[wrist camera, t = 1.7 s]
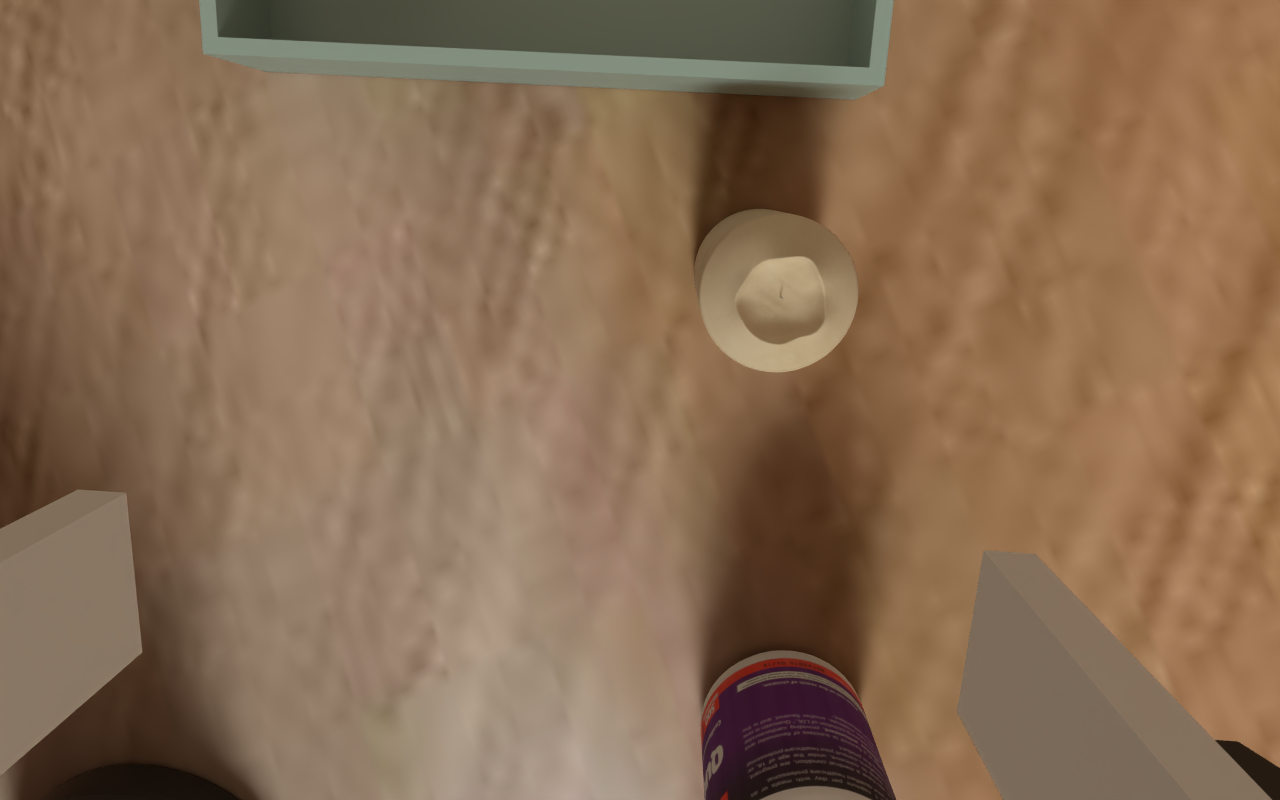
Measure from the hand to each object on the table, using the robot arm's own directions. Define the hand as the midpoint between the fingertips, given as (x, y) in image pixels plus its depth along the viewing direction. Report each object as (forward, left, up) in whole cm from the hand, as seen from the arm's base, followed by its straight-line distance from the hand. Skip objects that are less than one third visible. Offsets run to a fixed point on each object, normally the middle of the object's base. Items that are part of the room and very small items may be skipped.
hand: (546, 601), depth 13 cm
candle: (+5, +3, -27) cm, 27 cm away
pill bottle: (+8, -19, -27) cm, 34 cm away
